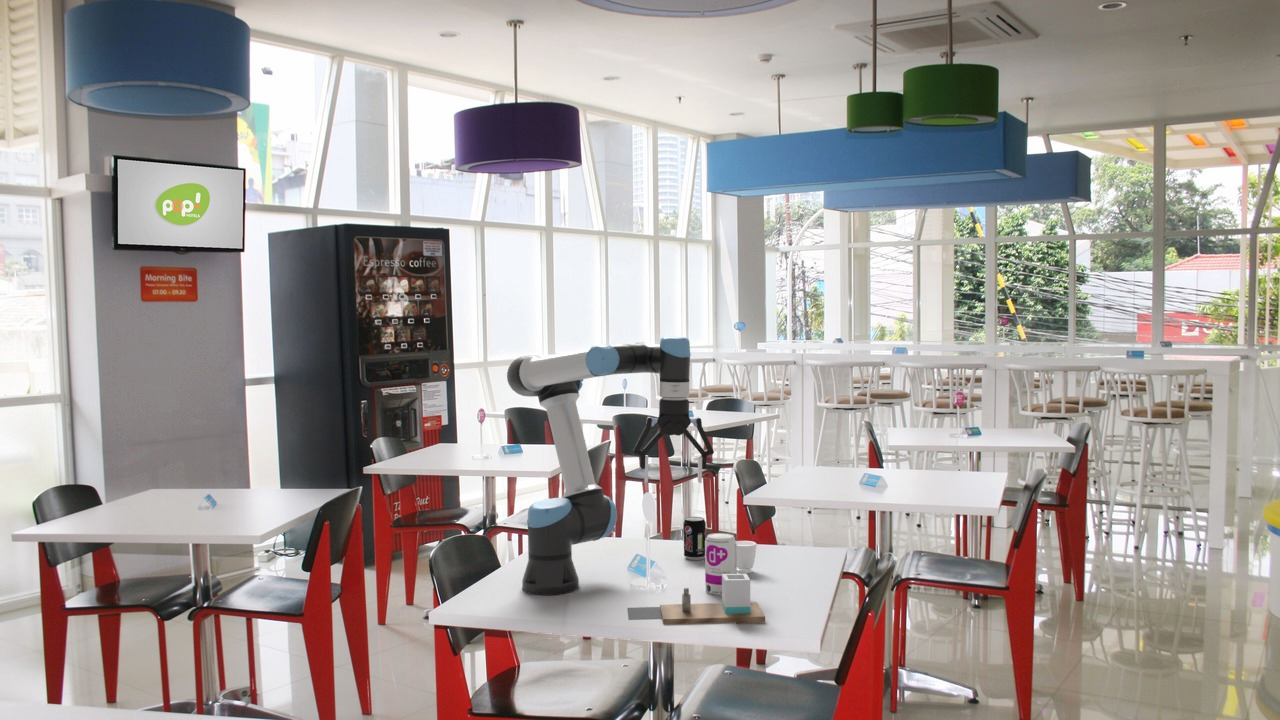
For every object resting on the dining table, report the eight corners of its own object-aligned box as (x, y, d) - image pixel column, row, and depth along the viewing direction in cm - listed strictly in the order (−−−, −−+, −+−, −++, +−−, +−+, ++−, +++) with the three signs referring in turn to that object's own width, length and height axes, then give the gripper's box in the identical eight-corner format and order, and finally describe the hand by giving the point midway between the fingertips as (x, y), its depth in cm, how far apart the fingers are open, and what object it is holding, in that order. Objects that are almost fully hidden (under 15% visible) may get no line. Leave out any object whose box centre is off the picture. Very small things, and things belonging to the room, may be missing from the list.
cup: (755, 575, 275) (755, 546, 275) (720, 573, 277) (719, 545, 277) (758, 568, 282) (758, 541, 282) (723, 567, 284) (723, 539, 284)
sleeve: (725, 613, 233) (725, 580, 233) (722, 606, 239) (721, 574, 239) (750, 613, 233) (750, 579, 233) (746, 606, 239) (746, 573, 239)
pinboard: (663, 625, 230) (662, 595, 229) (660, 610, 242) (659, 582, 241) (765, 622, 231) (765, 593, 230) (757, 608, 243) (756, 580, 242)
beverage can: (706, 560, 293) (706, 520, 292) (684, 560, 293) (683, 520, 292) (705, 555, 299) (705, 516, 299) (683, 555, 300) (683, 516, 299)
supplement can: (728, 598, 252) (727, 540, 251) (699, 594, 256) (699, 537, 256) (742, 591, 259) (741, 534, 258) (714, 587, 263) (713, 531, 262)
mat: (628, 621, 233) (628, 619, 233) (627, 609, 243) (627, 607, 243) (670, 620, 234) (670, 618, 234) (667, 608, 244) (667, 606, 244)
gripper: (625, 399, 243) (624, 484, 244) (725, 400, 244) (723, 484, 246) (624, 396, 250) (623, 478, 252) (721, 397, 252) (720, 479, 253)
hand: (672, 481), depth 249 cm, fingers open, 13 cm apart
